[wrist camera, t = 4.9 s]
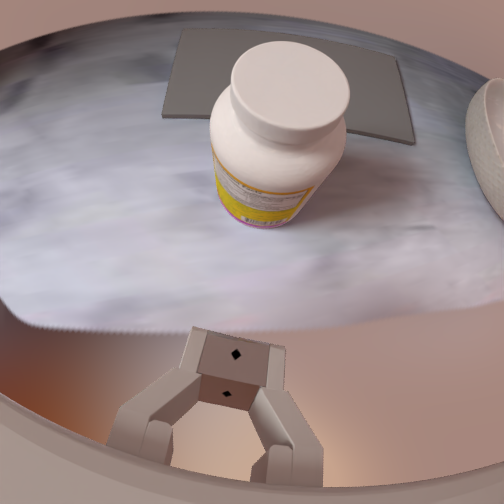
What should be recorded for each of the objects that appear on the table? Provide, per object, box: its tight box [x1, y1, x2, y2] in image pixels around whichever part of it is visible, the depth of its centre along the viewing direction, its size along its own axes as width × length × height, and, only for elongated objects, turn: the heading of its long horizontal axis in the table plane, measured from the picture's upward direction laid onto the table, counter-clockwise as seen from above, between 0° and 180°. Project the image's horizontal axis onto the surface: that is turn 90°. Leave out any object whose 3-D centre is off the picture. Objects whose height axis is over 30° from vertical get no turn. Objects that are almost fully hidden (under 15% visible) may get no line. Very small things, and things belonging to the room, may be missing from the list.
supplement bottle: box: [210, 41, 350, 229], centre depth 17 cm, size 7×7×13 cm
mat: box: [161, 29, 414, 145], centre depth 25 cm, size 22×11×1 cm, turn 87°
